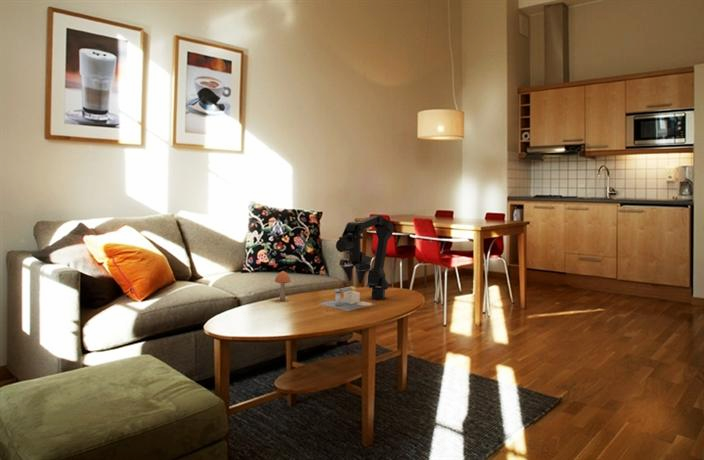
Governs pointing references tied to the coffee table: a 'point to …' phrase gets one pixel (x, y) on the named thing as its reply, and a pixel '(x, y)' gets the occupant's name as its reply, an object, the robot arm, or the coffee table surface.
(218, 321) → the coffee table surface
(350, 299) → the beige cube
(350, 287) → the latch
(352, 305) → the board
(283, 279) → the mushroom
